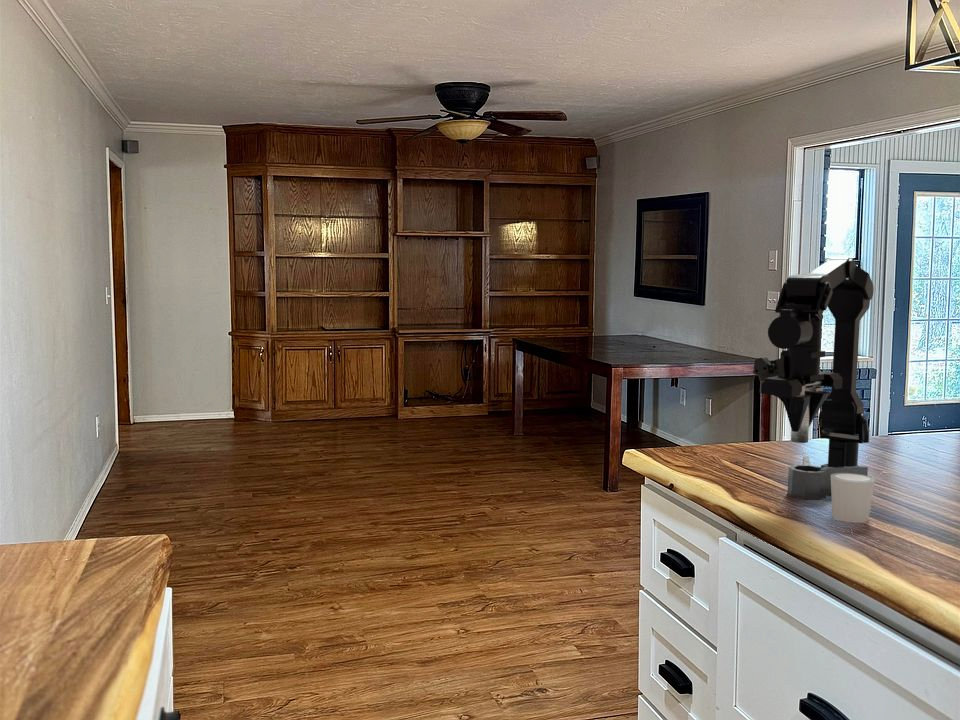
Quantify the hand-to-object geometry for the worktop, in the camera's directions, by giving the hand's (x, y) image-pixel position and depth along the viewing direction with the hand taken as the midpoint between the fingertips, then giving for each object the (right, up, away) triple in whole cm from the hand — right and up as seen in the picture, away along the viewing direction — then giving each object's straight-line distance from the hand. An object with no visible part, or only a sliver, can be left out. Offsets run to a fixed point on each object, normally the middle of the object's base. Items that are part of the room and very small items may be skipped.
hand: (799, 430), depth 160 cm
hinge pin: (0, -2, 0) cm, 2 cm away
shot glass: (+3, -14, -14) cm, 20 cm away
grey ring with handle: (+4, -12, +3) cm, 13 cm away
